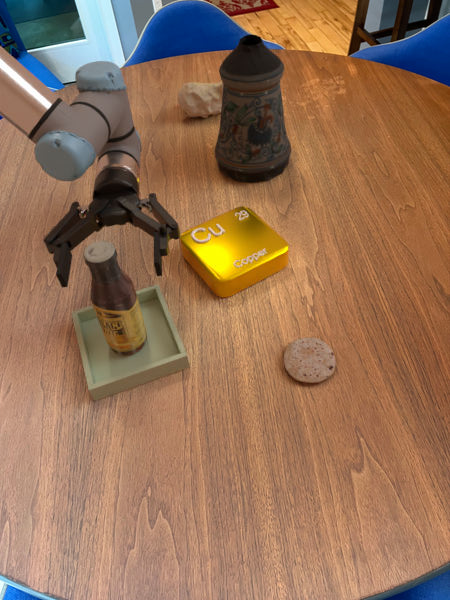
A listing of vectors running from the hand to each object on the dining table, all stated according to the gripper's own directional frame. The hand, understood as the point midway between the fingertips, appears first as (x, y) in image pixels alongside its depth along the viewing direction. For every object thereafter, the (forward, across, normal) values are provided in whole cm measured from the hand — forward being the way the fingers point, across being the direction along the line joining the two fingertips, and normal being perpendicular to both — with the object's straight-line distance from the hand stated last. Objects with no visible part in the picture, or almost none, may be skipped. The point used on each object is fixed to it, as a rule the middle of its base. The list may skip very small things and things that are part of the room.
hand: (109, 275), depth 67 cm
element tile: (-14, -18, -13) cm, 27 cm away
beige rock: (-68, -19, -13) cm, 72 cm away
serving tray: (+3, 0, -13) cm, 13 cm away
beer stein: (-45, -26, -13) cm, 53 cm away
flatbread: (+10, -27, -13) cm, 32 cm away
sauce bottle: (+3, 0, -13) cm, 13 cm away
